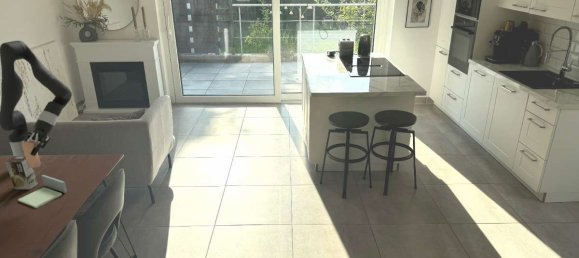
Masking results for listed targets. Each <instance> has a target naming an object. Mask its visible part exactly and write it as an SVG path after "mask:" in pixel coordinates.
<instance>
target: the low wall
mask: <svg viewBox="0 0 579 258" xmlns="http://www.w3.org/2000/svg"><path fill="white" fill-rule="evenodd" d="M41 179H42V183H43V187H45V188H48V189H51V190H54V191H57V192H58V191H59V192H60V193H64V194H67V193H68V188H67V185H66V182H65V181H63V180H60V179H58V178H54V177H51V176H48V175H46V174H42V175H41Z"/></svg>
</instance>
